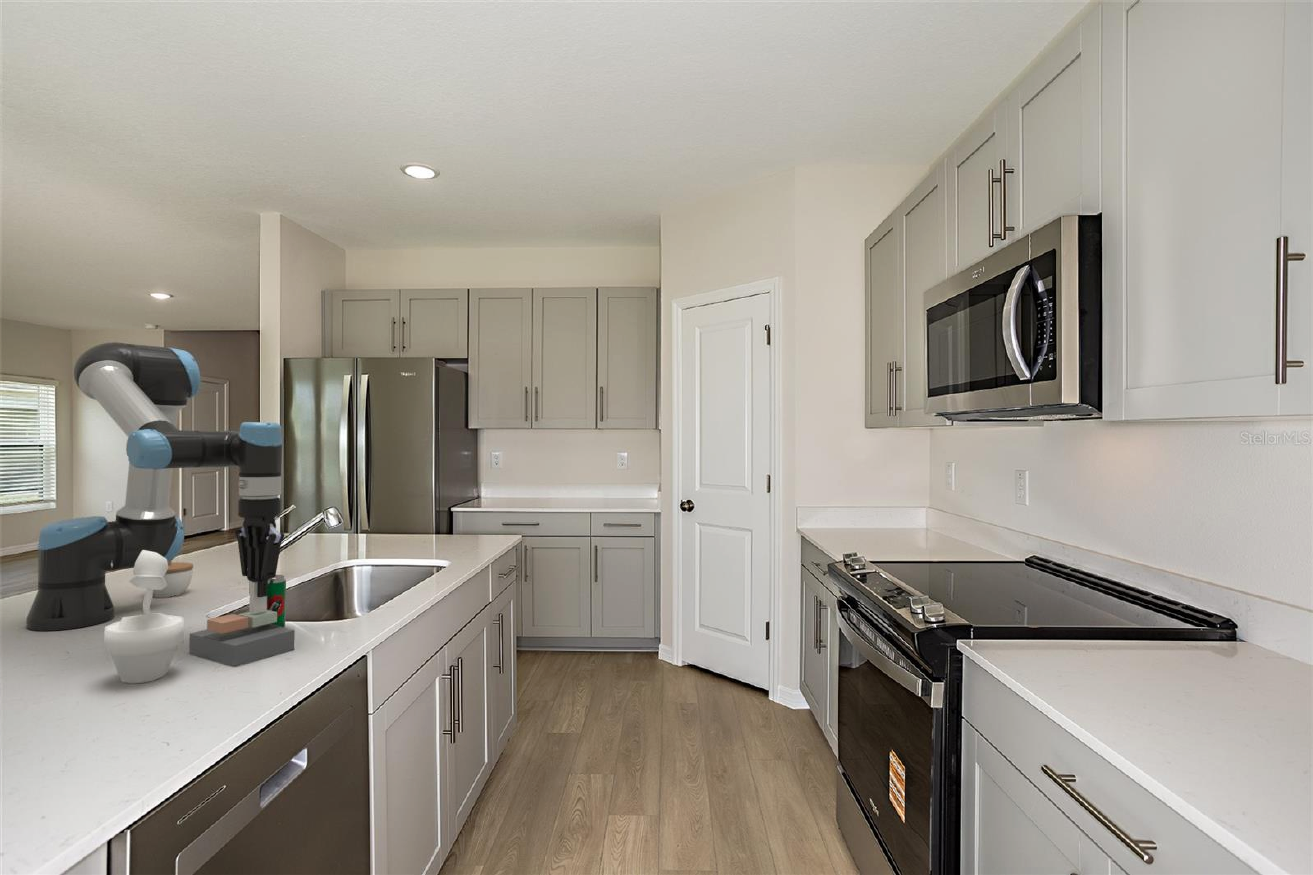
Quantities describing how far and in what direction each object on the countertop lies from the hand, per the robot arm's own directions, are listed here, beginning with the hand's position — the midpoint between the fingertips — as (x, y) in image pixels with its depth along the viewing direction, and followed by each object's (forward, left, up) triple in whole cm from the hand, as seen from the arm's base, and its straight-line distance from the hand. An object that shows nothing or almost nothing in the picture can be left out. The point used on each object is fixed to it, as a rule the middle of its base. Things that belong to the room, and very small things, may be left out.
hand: (258, 612), depth 138 cm
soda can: (-9, +9, -8) cm, 15 cm away
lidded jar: (-63, +15, -8) cm, 65 cm away
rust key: (0, -6, -2) cm, 6 cm away
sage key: (0, 0, -2) cm, 2 cm away
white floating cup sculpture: (0, -21, -8) cm, 22 cm away
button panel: (0, -3, -7) cm, 8 cm away
